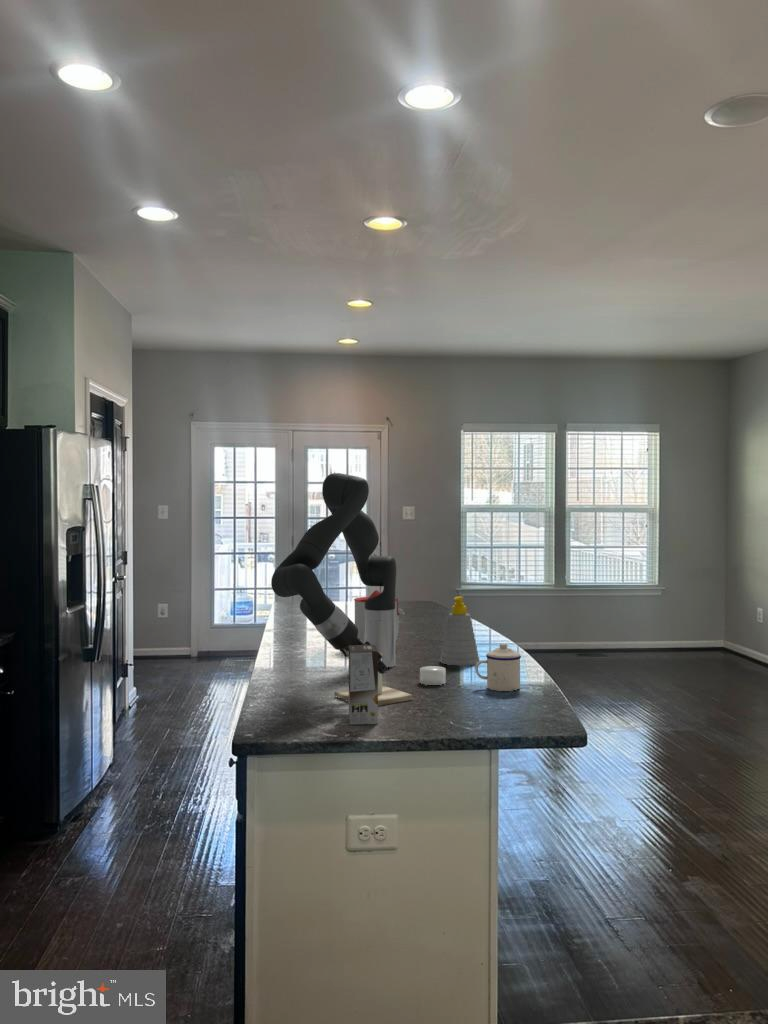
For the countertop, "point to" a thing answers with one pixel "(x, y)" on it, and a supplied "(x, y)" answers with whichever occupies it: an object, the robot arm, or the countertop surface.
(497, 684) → the teacup with lid
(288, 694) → the countertop surface
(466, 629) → the soap bottle
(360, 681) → the coffee box
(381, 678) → the jar
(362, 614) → the citrus juicer
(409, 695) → the board
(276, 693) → the countertop surface
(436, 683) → the white domed cylinder
